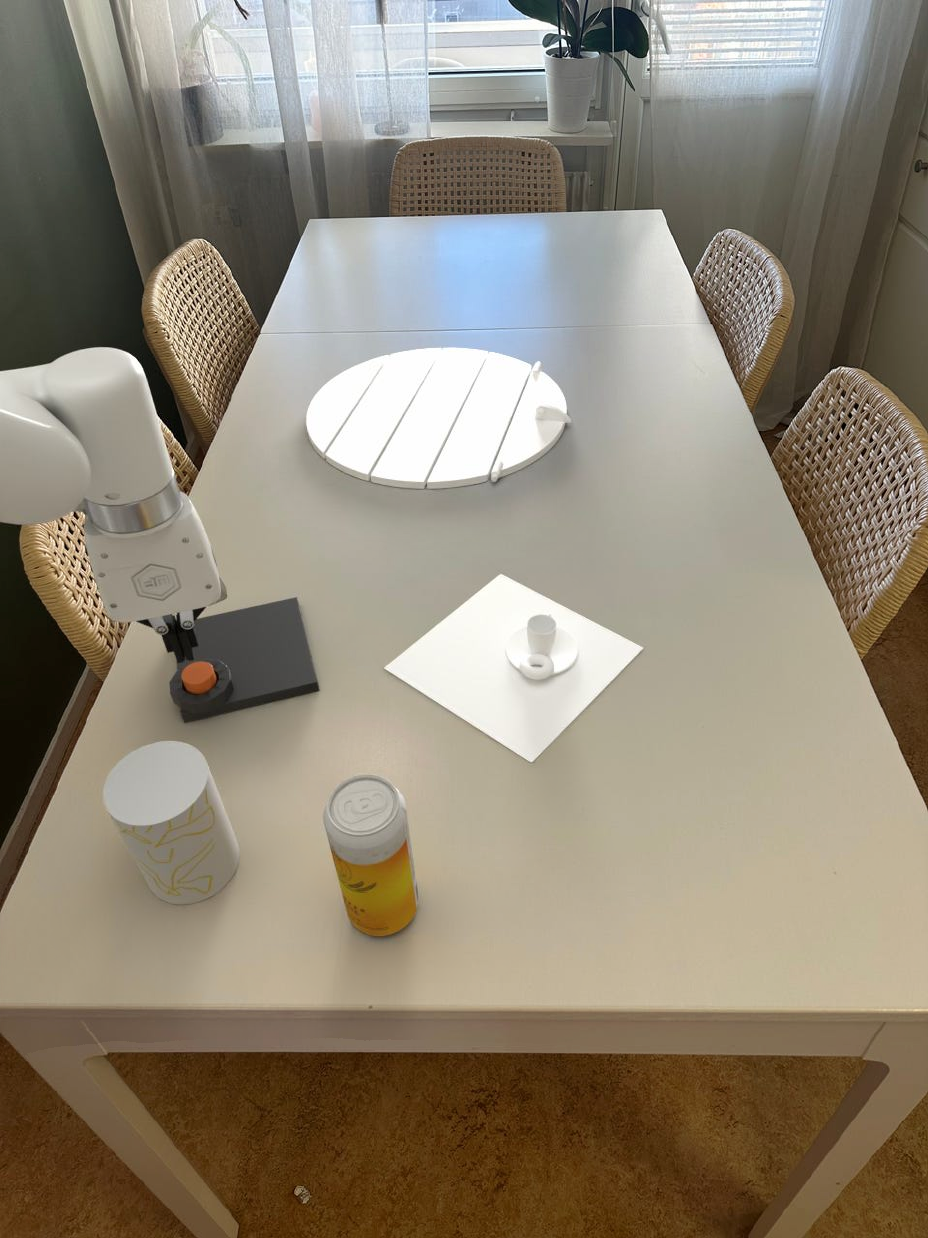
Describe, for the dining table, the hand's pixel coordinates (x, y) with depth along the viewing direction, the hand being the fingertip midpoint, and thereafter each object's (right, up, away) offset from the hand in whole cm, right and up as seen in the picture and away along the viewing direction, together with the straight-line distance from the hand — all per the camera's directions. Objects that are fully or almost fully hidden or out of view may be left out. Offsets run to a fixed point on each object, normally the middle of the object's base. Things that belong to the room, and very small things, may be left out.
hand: (185, 651), depth 85 cm
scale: (+4, -1, +9) cm, 10 cm away
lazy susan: (+24, +34, +46) cm, 62 cm away
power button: (0, -3, +4) cm, 5 cm away
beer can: (+21, -21, -12) cm, 32 cm away
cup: (+4, -18, -9) cm, 21 cm away
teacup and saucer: (+33, -1, +8) cm, 34 cm away
